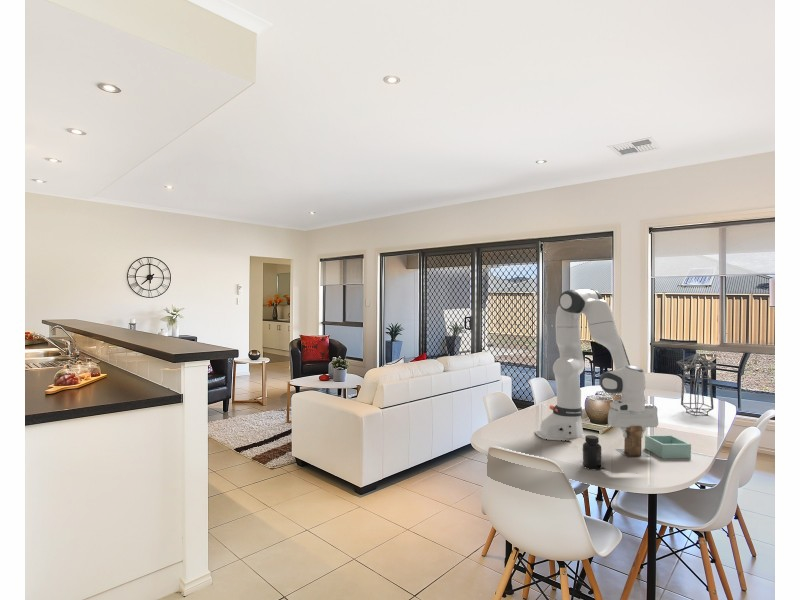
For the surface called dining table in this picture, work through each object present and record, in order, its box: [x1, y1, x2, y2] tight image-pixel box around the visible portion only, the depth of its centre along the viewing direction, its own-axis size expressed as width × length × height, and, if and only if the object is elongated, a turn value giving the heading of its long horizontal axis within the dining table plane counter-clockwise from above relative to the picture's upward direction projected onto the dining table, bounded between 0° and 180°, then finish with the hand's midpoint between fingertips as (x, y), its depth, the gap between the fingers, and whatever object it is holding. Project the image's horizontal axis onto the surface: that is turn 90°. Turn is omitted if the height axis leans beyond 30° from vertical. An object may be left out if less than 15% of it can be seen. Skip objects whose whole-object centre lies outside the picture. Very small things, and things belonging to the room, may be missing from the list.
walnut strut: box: [623, 426, 642, 455], centre depth 187 cm, size 5×5×12 cm
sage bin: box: [644, 434, 692, 460], centre depth 188 cm, size 12×12×7 cm
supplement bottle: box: [582, 434, 603, 470], centre depth 175 cm, size 7×7×12 cm
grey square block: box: [615, 448, 651, 459], centre depth 187 cm, size 10×10×8 cm
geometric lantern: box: [675, 353, 718, 417], centre depth 258 cm, size 16×16×35 cm
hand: (632, 437), depth 187 cm, fingers closed on walnut strut, 5 cm apart
